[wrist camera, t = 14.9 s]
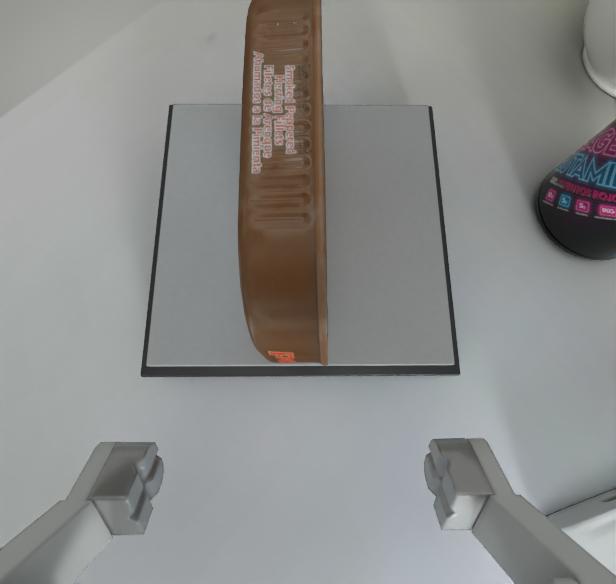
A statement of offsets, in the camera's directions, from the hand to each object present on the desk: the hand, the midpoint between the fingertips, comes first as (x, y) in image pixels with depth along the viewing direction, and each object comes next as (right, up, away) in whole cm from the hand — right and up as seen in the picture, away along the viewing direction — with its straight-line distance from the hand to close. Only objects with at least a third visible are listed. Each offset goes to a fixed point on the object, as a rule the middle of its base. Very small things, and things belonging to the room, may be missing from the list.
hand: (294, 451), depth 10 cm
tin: (0, +8, +8) cm, 12 cm away
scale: (0, +8, +11) cm, 14 cm away
